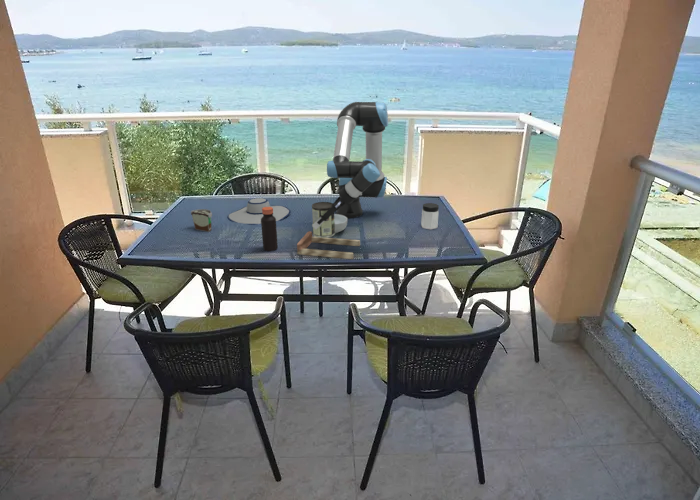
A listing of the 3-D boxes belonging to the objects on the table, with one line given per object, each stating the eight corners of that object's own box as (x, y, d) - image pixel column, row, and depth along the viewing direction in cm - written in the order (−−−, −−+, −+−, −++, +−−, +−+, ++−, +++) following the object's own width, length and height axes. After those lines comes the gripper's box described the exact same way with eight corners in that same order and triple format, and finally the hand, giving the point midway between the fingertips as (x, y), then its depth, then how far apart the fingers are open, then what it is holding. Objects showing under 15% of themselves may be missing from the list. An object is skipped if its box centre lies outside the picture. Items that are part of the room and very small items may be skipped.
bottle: (265, 245, 216) (262, 205, 208) (279, 246, 215) (276, 206, 207) (261, 251, 210) (258, 210, 202) (275, 251, 209) (272, 210, 201)
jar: (428, 230, 234) (429, 208, 230) (417, 226, 241) (419, 204, 236) (440, 227, 239) (442, 205, 234) (430, 223, 245) (431, 201, 240)
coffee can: (324, 228, 215) (323, 200, 210) (339, 233, 208) (339, 204, 203) (308, 234, 208) (306, 204, 203) (323, 239, 202) (322, 209, 196)
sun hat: (293, 205, 277) (292, 191, 274) (287, 225, 244) (286, 209, 241) (234, 206, 276) (233, 191, 273) (220, 226, 243) (218, 210, 240)
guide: (297, 254, 206) (297, 244, 204) (308, 240, 221) (308, 231, 220) (352, 259, 201) (352, 248, 199) (360, 245, 216) (360, 235, 214)
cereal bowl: (335, 239, 223) (335, 226, 220) (308, 233, 231) (308, 220, 228) (353, 229, 236) (353, 216, 234) (327, 223, 244) (327, 211, 242)
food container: (219, 228, 238) (216, 210, 234) (211, 232, 233) (208, 214, 229) (201, 225, 243) (198, 207, 239) (192, 228, 237) (190, 210, 233)
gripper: (350, 205, 188) (316, 237, 197) (361, 191, 208) (329, 221, 218) (338, 192, 187) (304, 225, 196) (350, 179, 207) (318, 210, 217)
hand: (317, 223), depth 207 cm, fingers closed on coffee can, 10 cm apart
